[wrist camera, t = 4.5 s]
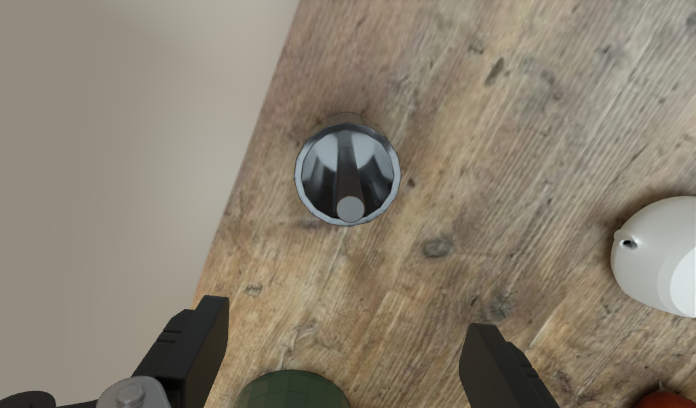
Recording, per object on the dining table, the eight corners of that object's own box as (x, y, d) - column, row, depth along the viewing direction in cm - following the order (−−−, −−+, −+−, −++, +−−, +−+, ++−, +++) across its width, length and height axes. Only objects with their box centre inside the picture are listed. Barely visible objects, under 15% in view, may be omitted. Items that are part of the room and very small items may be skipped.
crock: (299, 187, 40) (288, 218, 31) (310, 105, 37) (301, 114, 29) (378, 200, 41) (388, 233, 32) (394, 120, 38) (411, 133, 29)
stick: (335, 163, 38) (333, 221, 23) (338, 145, 38) (338, 192, 23) (353, 166, 39) (362, 225, 23) (356, 148, 38) (368, 197, 23)
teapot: (544, 261, 43) (602, 315, 34) (602, 159, 40) (686, 187, 30) (690, 311, 46) (784, 373, 36) (758, 219, 42) (881, 261, 33)
